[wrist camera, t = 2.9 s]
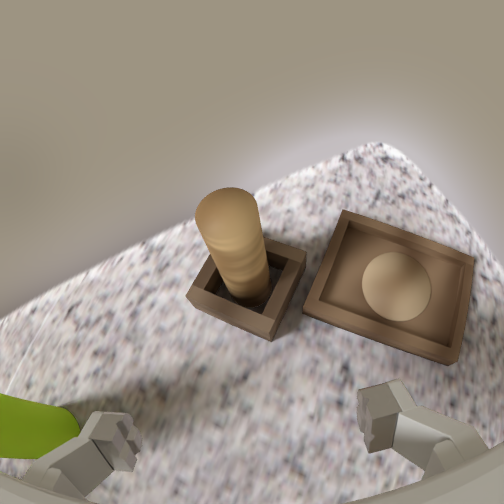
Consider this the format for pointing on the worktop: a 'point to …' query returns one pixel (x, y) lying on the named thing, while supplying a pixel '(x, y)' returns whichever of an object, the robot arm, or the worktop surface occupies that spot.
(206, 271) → the socket
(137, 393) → the worktop surface
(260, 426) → the worktop surface
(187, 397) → the worktop surface
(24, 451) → the soap dispenser
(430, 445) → the robot arm
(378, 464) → the worktop surface
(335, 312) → the tray
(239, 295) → the dowel
